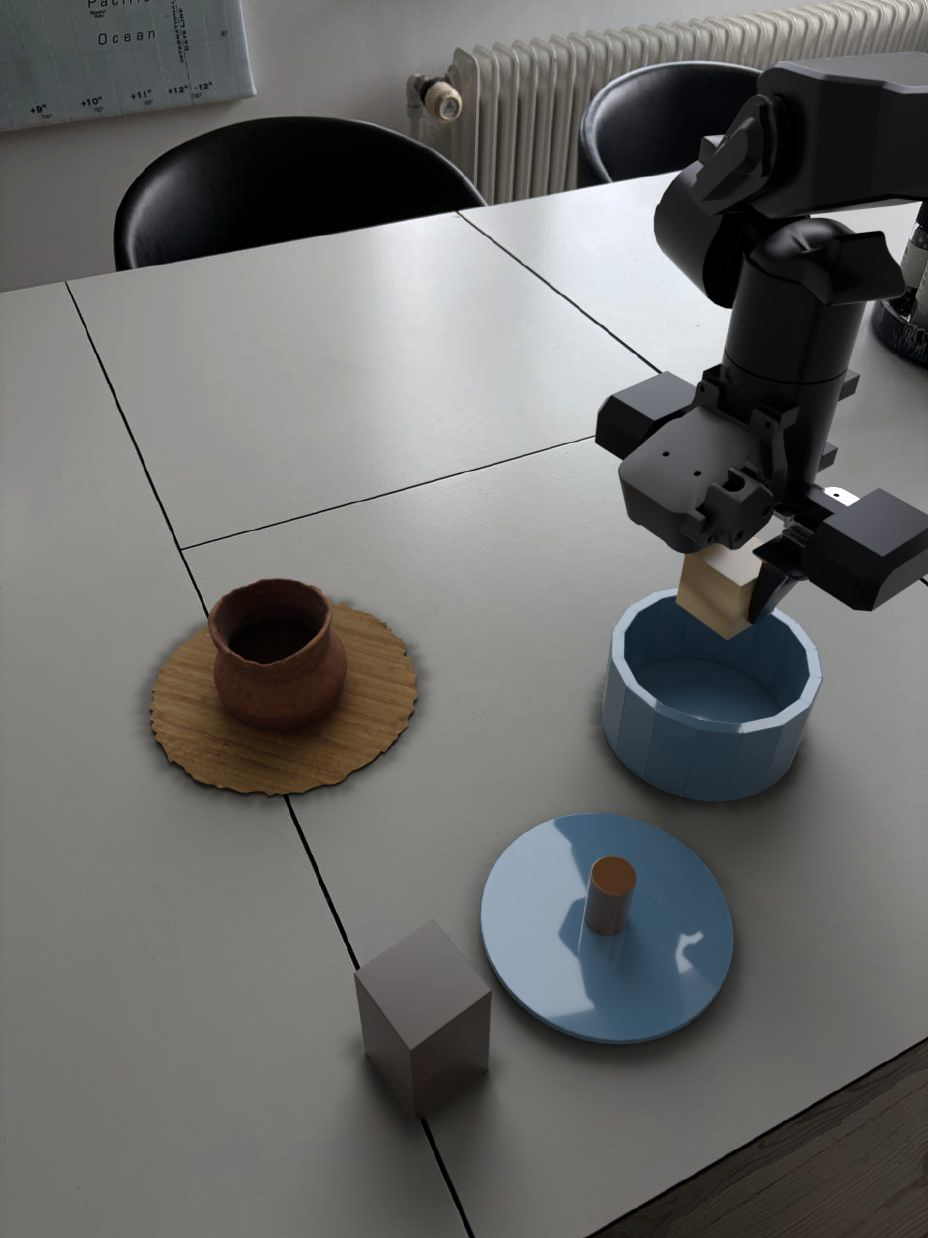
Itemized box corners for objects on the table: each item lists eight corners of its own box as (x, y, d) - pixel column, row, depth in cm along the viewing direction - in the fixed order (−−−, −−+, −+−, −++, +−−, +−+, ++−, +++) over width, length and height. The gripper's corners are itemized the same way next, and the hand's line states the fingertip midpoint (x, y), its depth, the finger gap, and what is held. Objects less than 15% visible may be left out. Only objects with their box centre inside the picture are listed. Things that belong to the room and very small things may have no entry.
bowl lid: (782, 948, 54) (805, 897, 51) (597, 1107, 48) (608, 1061, 45) (608, 786, 62) (617, 732, 59) (430, 905, 56) (428, 853, 52)
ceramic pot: (237, 847, 59) (218, 772, 54) (102, 678, 69) (75, 602, 64) (471, 700, 67) (472, 624, 62) (321, 568, 77) (312, 494, 72)
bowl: (837, 737, 65) (865, 667, 60) (703, 837, 59) (723, 768, 55) (693, 630, 72) (709, 560, 68) (562, 709, 67) (569, 639, 62)
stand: (488, 1068, 49) (492, 990, 44) (415, 1125, 47) (410, 1051, 42) (436, 999, 52) (433, 918, 47) (364, 1051, 50) (352, 973, 45)
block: (774, 611, 58) (789, 558, 55) (727, 640, 56) (741, 587, 53) (721, 575, 60) (734, 522, 58) (675, 602, 58) (685, 549, 56)
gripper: (527, 327, 49) (515, 571, 60) (842, 511, 38) (759, 769, 49) (685, 268, 54) (648, 503, 65) (1004, 417, 43) (897, 669, 54)
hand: (726, 600), depth 58 cm, fingers closed on block, 4 cm apart
